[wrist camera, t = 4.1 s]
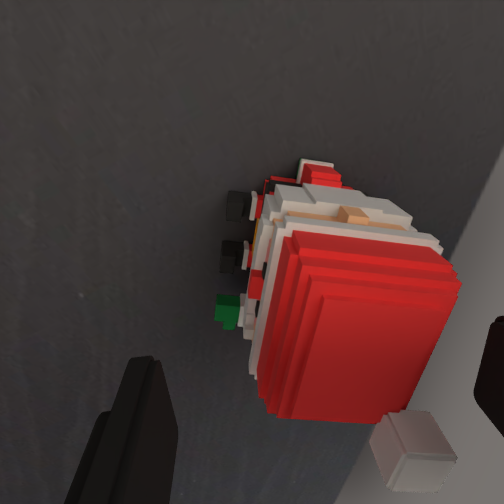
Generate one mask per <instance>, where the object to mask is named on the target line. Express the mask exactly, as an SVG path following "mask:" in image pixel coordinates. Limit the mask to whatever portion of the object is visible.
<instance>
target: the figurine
mask: <svg viewBox="0 0 504 504" xmlns="http://www.w3.org/2000/svg"><path fill="white" fill-rule="evenodd" d="M333 166H334V164H332V163H327V162H321V161H315V160H308V159H301V158H300V160H299V165H298V170H297V175H296V178H297V179H290V178H283V177H276V176H271V177H270V179H269V180H265V185H264V191H263V195H257V193H256V191H252V192H251V194H250V193H242V192H235V191H229V194H228V201H227V212H226V221H234V222H241V218H242V216H246V217H249V220H254V218H257V222H256V228H255V234H254V240H253V244H249V243H248V241H244V243H237V242H228V241H222V249H221V258H220V272H221V273H230V274H233V272H234V266H242V269H244V270H246V267H251V268H250V276H249V282H248V288H247V294H242V293H240V296H230V295H220V294H217V298H216V306H215V317H214V321H223V329H226V330H234V329H235V323H238V326H240V327H243V335H244V339H251V340H252V348H251V353H250V358H249V374H254V379H257V382H258V394H259V398H264V403H266V405H267V413H273V414H277V418H288V419H304V420H319V421H335V422H351V423H367V424H376V427H375V429H374V431H373V434H372V436H371V438H370V440H369V444H370V446H371V449H372V452H373V454H374V457H375V459H376V462H377V464H378V467H379V470H380V472H381V475H382V477H383V480H384V483H385V485H386V487H388V489H391V491H402V492H425V493H437V492H438V491H439V489H440V487H441V485H442V484H443V483H444V481H445V479H446V477H447V476H448V474H449V473H450V471H451V469H452V468H453V466H454V464H455V463H456V460H457V456H456V454H455V453H454V451H453V449H452V448H451V446H450V444H449V443H448V441H447V440H446V438H445V436H444V435H443V433H442V432H441V430H440V428H439V426H438V425H437V423H436V422H435V420H434V418H433V417H432V415H431V414H430V412H426V411H411V410H405V409H406V407H407V405H408V403H409V401H410V399H411V396H412V395H413V392H414V390H415V388H416V386H417V384H418V381H419V380H420V377H421V375H422V373H423V371H424V369H425V367H426V365H427V362H428V360H429V358H430V356H431V354H432V352H433V350H434V348H435V345H436V343H437V341H438V339H439V337H440V335H441V333H442V330H443V328H444V326H445V324H446V322H447V320H448V317H449V315H450V313H451V311H452V309H453V307H454V305H455V302H456V300H457V298H458V296H457V293H458V291H459V289H460V287H461V285H462V283H461V282H460V281H459V280H458V279H457V278H456V276H457V273H456V272H455V271H454V270H452V267H453V265H452V264H450V263H449V262H448V261H447V260H446V259H444V258H443V257H442V256H441V254H442V251H443V249H444V248H442V247H441V246H440V245H438V243H439V240H437V239H436V238H435V237H433V236H432V235H431V234H427V233H419V232H417V230H416V229H415V228H414V227H412V226H411V225H410V224H411V221H412V219H413V217H412V216H410V215H409V214H407V213H406V212H405V211H403V210H402V209H401V208H399V207H398V206H396V205H395V204H394V203H392V202H391V201H389V200H388V199H381V198H373V197H370V196H368V195H367V194H366V193H363V192H360V191H357V190H354V189H352V188H351V187H347V186H342V182H341V181H340V179H341V175H340V174H339V173H338V172H337V171H335V170H334V169H333Z"/></svg>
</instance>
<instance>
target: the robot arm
mask: <svg viewBox="0 0 504 504" xmlns="http://www.w3.org/2000/svg"><path fill="white" fill-rule="evenodd" d="M474 398H475V400H476V402H477V404H478V405H479V407H480V408H481V409H482V410H483V411H484V413H485V414H486V415H487V417H488V418H489V419H490V420H491V422H492V423H493V424H494V425H495V427H496V428H497V429H498V430H499V432H500V433H501V434H502V436H503V437H504V316H499V317H497V318H496V319H495V322H493V323H492V324H491V325H490V329H489V332H488V336H487V340H486V344H485V348H484V352H483V356H482V360H481V364H480V368H479V372H478V376H477V379H476V383H475V387H474ZM177 443H178V427H177V422H176V418H175V415H174V411H173V407H172V403H171V399H170V395H169V391H168V388H167V384H166V380H165V376H164V372H163V368H162V365H161V362H160V360H156V361H154V358H153V357H152V356H144V357H135V358H131V359H130V360H129V362H128V365H127V367H126V370H125V373H124V376H123V379H122V381H121V384H120V387H119V390H118V393H117V395H116V398H115V401H114V404H113V407H112V409H111V411H107V412H102V413H101V414H100V415H99V416H98V418H97V420H96V423H95V425H94V428H93V430H92V433H91V435H90V438H89V441H88V443H87V446H86V448H85V451H84V453H83V456H82V459H81V461H80V464H79V466H78V469H77V471H76V474H75V476H74V479H73V482H72V484H71V487H70V489H69V492H68V494H67V497H66V500H65V502H64V504H169V501H170V494H171V486H172V479H173V472H174V464H175V457H176V450H177Z"/></svg>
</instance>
